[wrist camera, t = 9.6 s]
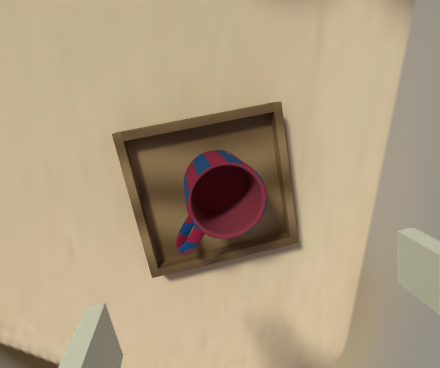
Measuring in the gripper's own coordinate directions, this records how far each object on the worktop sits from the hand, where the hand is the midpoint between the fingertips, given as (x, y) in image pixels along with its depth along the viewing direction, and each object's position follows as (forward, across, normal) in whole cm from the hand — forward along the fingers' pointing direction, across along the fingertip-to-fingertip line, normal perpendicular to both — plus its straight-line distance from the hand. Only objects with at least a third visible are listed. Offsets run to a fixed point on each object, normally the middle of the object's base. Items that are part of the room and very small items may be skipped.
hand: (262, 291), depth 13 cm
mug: (+18, -1, -1) cm, 18 cm away
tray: (+19, 0, 0) cm, 19 cm away
